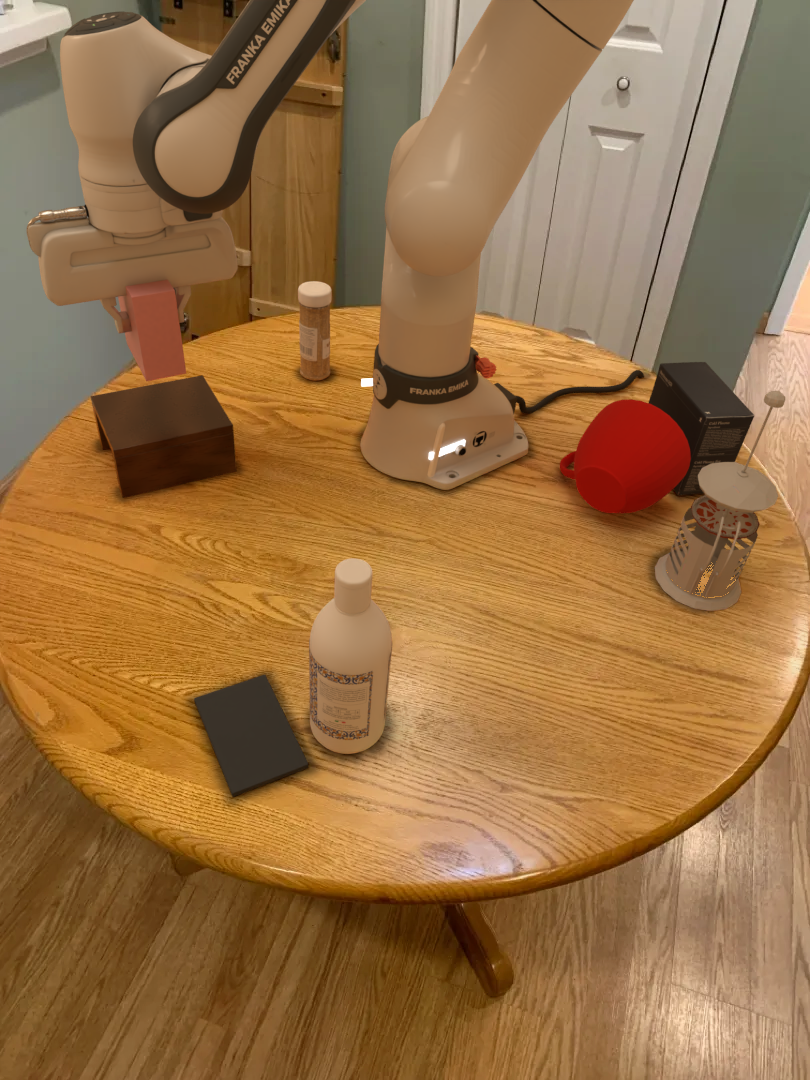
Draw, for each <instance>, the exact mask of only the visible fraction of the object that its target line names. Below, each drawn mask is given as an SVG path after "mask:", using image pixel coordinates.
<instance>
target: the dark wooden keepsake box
mask: <svg viewBox="0 0 810 1080" xmlns="http://www.w3.org/2000/svg"><path fill="white" fill-rule="evenodd" d="M90 401H91V405H92V411H93V415H94V421H95V424H96V430H97V435H98V439H99V444H100V446H101V448H102V451H103V450H107V449H110V451H111V454H112V459H113V464H114V469H115V473H116V478H117V479H116V480H117V484H118V489H119V492H120V495H121V497H122V499H125V498H130V497H133V496H137V495H143V494H146V493H150V492H154V491H158V490H159V491H160V490H163V489H167V488H172V487H175V486H180V485H185V484H189V483H192V482H197V481H201V480H205V479H209V478H214V477H218V476H223V475H227V474H231V473H234V472H237V459H236V446H235V445H236V444H235V435H234V434H235V433H234V424H233V422H232V421H231V419H230V418H229V416H228V415H227V413H226V411H225V410H224V407H223V406H222V404H221V403H220V401H219V400H218V398H217V396H216V395H215V393H214V392H213V390H212V388H211V386H210V385H209V383H208V382H207V380H206V378H205V377H204V375H203V374H202V375H196V376H190V377H185V378H179V379H175V380H174V379H173V380H170V381H165V382H159V383H153V384H148V385H143V386H138V387H131V388H127V389H122V390H116V391H111V392H106V393H101V394H96V395H90Z"/></svg>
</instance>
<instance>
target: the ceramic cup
mask: <svg viewBox="0 0 810 1080" xmlns="http://www.w3.org/2000/svg"><path fill="white" fill-rule="evenodd" d="M690 460H691V456H690V448H689V444H688V441H687V439H686V437H685V435H684V433H683V431H682V430H681V428H680V427H679V426H678V424H677V423H676V422H675V421H674V420H673V419H672V418H671V417H670V416H669V415H668V414H666V413H665V412H664V411H662V410H661V409H659V408H657V407H656V406H654V405H652V404H649V402H646V401H643V400H638V399H632V398H628V399H627V398H626V399H619V400H615V401H613V402H611V403H609V404H607V405H605V406H604V407H603V408H602V409H601V410H600V411H599V412H598V413H597V414H596V416H595V417H594V418H593V419H592V420H591V421H590V423H589V425H588V426H587V427H586V429H585V431H584V432H583V434H582V436H581V437H580V439H579V441H578V443H577V445H576V450H574V451H571V452H569V453H567V454H566V455H564V456H563V457H562V458H561V459H560V461H559V470H560V473H561V474H562V475H563V476H564V477H565V478H568V479H571V480H574V481H575V487H576V490H577V492H578V494H579V496H580V497H581V498H582V500H583V501H585V503H586V504H587V505H589V506H590V507H591V508H593V509H595V510H597V511H599V512H601V513H604V514H619V515H620V514H622V515H623V514H632V513H636V512H640V511H643V510H646V509H648V508H650V507H652V506H653V505H656V504H657V503H658V502H659V501H661V500H662V499H664V498H665V497H666V496H667V495H668V494H670V493H671V492H672V491H674V490H673V489H674V488H675V487H676V486H677V484H678V483H679V482H680V481H681V480H682V479H683V478H684V476H685V475H686V473H687V471H688V469H689V466H690ZM572 464H573V469H570V468H569V466H570V465H572Z"/></svg>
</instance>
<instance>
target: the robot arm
mask: <svg viewBox="0 0 810 1080" xmlns="http://www.w3.org/2000/svg"><path fill="white" fill-rule="evenodd" d="M366 1H367V0H249V1H248V2H247V4H246V5H245V7H244V8H243V10H242V11H241V12H240V14H239V15H238V17H237V18H236V19H235V22H234V23H233V24H232V26H231V27H230V29H229V30H228V32H227V33H226V35H225V36H224V38H223V39H222V40H221V42H220V43H219V45H218V47H217V48H216V50H214V52H213V54H212V55H211V54H208V53H205V52H202V51H199V50H196V49H194V48H193V47H189V46H187V45H185V44H183V43H181V42H179V41H177V40H175V39H173V38H172V37H169V36H168V35H167V34H166V33H164V32H162V31H160V30H159V29H157V28H156V27H155V26H154V25H152V23H150V21H148V20H147V19H146V18H145V17H144V16H143V15H141V14H139V13H135V12H132V11H123V10H122V11H111V12H105V13H99V14H95V15H91V16H90V17H86V18H83V19H80V20H79V21H77V22H76V23H74V24H72V25H71V26H70V27H69V28H68V30H66V31H65V32H64V33H63V34H64V35H63V36H62V37H61V40H60V46H59V47H60V48H59V60H60V63H59V64H60V74H61V83H62V90H63V96H64V102H65V103H64V104H65V108H66V115H67V120H68V124H69V127H70V128H69V129H70V130H71V132H72V134H73V136H74V139H75V141H76V144H77V148H78V161H77V162H78V163H77V168H78V169H77V170H78V175H79V181H80V186H81V191H82V196H83V201H84V205H78V206H69V207H65V208H61V209H54V210H53V209H45V210H41V211H39V212H38V215H36V216H34V217H32V218H31V219H30V220H29V221H28V223H27V225H26V230H25V231H26V236H27V240H28V241H27V242H28V244H29V247H30V250H31V251H32V252H33V254H34V255H36V256H37V258H38V268H39V274H40V279H41V286H42V288H43V292H44V294H45V297H46V298H47V299H48V300H49V301H50V302H51V303H53V304H54V305H55V306H57V307H64V306H69V305H76V304H82V303H88V302H94V301H100V304H101V305H102V308H103V309H104V310H105V311H106V312H107V313H108V314H109V315H110V316H111V317H112V319H113V321H114V326H115V328H116V331H117V333H118V334H125V332H130V331H132V329H131V323H130V318H129V316H128V315H127V312H126V311H122V312H121V311H120V310H118V309H117V308H116V306H117V298H118V297H120V296H126V295H127V294H126V287H125V286H131V285H137V284H143V283H150V282H156V281H162V280H168V281H169V282H170V284H171V285H172V287H173V288H174V290H175V295H176V302H177V309H178V317H179V324H181V323H185V321H186V320H185V312H184V309H186V306H187V304H188V301H189V299H190V298H191V295H192V288H191V286H195V285H200V284H207V283H212V282H219V281H226V280H231V279H233V277H234V276H235V274H236V273H237V271H238V269H239V266H238V264H239V263H238V256H237V249H236V245H235V239H234V236H233V232H232V230H231V227H230V225H229V224H228V223H227V221H226V219H224V217H223V212H224V210H226V209H228V208H230V207H231V206H233V205H235V204H236V203H237V201H238V200H239V199H240V198H241V197H242V195H243V194H244V192H245V191H246V189H247V187H248V185H249V182H250V179H251V175H252V171H253V165H254V160H255V155H256V152H257V148H258V146H259V142H260V139H261V136H262V133H263V131H264V129H265V127H266V125H267V124H268V122H269V121H270V119H271V117H272V116H273V114H275V112H276V110H277V109H278V107H280V105H281V103H282V102H283V101H284V99H285V98H286V96H287V95H288V93H289V92H290V91H291V90H292V89H293V87H294V85H295V84H297V81H298V80H299V78H301V76H302V74H303V73H304V72H305V71H306V69H307V67H308V66H309V65H310V63H311V62H312V60H313V59H314V58H315V57H316V55H317V54H318V53H319V51H320V50H321V48H322V47H323V46H324V45H325V43H326V42H327V40H329V38H330V36H332V34H333V33H334V32H335V31H336V30H337V29H338V28H339V27H340V26H341V25H342V24H343V23H344V22H345V21H346V20H347V19H348V18H349V17H350V16H351V15H352V14H353V13H355V11H356V10H358V9H359V8H360V7H361V6H362V5H363V4H364V3H365V2H366ZM634 1H635V0H490V1H489V4H488V5H487V7H486V8H485V10H484V12H483V13H482V15H481V17H480V18H479V20H478V22H477V23H476V25H475V27H474V29H473V30H472V32H471V33H470V35H469V37H468V39H467V40H466V42H465V44H464V45H463V47H462V48H461V50H460V51H459V54H458V55H457V57H456V60H455V61H454V64H453V66H452V69H451V71H450V73H449V75H448V77H447V79H446V81H445V83H444V85H443V87H442V88H441V91H440V93H439V95H438V97H437V99H436V101H435V103H434V104H433V107H432V108H431V110H430V113H429V114H428V115H427V116H424V117H422V118H421V119H419V120H417V121H416V122H415V123H414V124H412V125H411V126H410V127H409V128H408V129H406V131H405V132H404V133H403V134H402V135H401V137H400V138H399V140H398V141H397V143H396V145H395V147H394V149H393V152H392V155H391V160H390V166H389V172H388V179H387V188H386V195H385V201H384V221H385V227H386V228H385V243H384V254H383V266H382V267H383V269H382V278H381V279H382V280H381V294H380V295H381V296H380V313H379V329H378V330H379V331H378V343H377V344H376V347H375V349H374V356H373V357H374V358H373V369H372V370H373V371H372V378H361V381H360V386H361V387H372V393H373V397H372V402H371V407H370V411H369V412H370V413H369V417H368V420H367V424H366V427H365V429H364V432H363V434H362V436H361V439H360V446H359V447H360V452H361V454H362V456H363V457H364V459H365V460H366V462H367V463H368V464H369V465H371V466H372V467H373V468H374V469H376V470H377V471H378V472H381V473H383V474H385V475H387V476H389V477H393V478H396V479H399V480H405V481H411V482H417V483H422V484H426V485H428V486H431V487H433V488H436V489H438V490H443V491H450V490H452V489H454V488H457V487H459V486H461V485H463V484H465V483H468V482H470V481H472V480H474V479H476V478H479V477H481V476H483V475H486V474H488V473H490V472H492V471H494V470H497V469H498V468H501V467H503V466H505V465H507V464H509V463H512V462H514V461H516V460H519V459H521V458H523V457H525V456H527V455H528V454H529V440H528V437H527V435H526V432H525V431H524V430H523V429H522V427H521V426H520V425H519V424H518V422H517V421H516V420H515V411H516V407H517V404H518V408H519V411H520V413H522V414H525V415H530V414H533V413H535V412H537V411H538V410H540V409H542V408H544V407H545V406H547V405H548V404H550V403H552V402H553V401H554V400H556V399H558V398H560V397H564V396H566V395H573V394H609V393H616V392H619V391H622V390H626V388H628V387H629V386H630V385H631V384H632V383H633V382H634V381H635V380H636V378H639V379H643V378H645V374H644V372H642V370H640V369H635V370H633V371H632V372H631V373H630V375H628V377H627V378H625V380H624V381H623V382H621V383H618V384H615V385H610V386H609V385H607V386H606V385H605V386H569V387H566V388H561V389H558V390H556V391H554V392H552V393H550V394H549V395H547V396H545V397H544V398H543V399H541V400H540V401H539V402H538V403H536V404H535V405H533V406H527V404H526V400H525V399H524V398H523V397H521V396H519V395H515V394H514V393H512V392H511V391H510V390H509V389H507V388H506V387H505V386H504V385H502V384H500V383H499V382H496V383H493V382H492V381H491V380H489V379H490V378H492V377H494V375H495V374H496V371H497V365H496V364H494V363H493V362H492V361H490V359H489V358H488V357H487V356H485V357H480V356H479V354H480V353H479V352H478V351H477V350H476V349H475V348H473V347H472V339H473V331H474V326H475V325H474V324H475V318H476V312H477V311H476V310H477V304H478V303H477V302H478V293H479V280H480V268H481V258H482V257H481V256H482V252H483V250H484V248H485V246H486V244H487V241H488V239H489V237H490V235H491V233H492V231H493V229H494V227H495V225H496V223H497V221H498V220H499V218H500V217H501V215H502V213H503V212H504V210H505V208H506V207H507V205H508V203H509V202H510V200H511V198H512V196H513V195H514V193H515V191H516V189H517V187H518V186H519V184H520V182H521V180H522V178H523V177H524V175H525V173H526V171H527V169H528V167H529V165H530V164H531V161H532V160H533V158H534V156H535V154H536V152H537V150H538V149H539V146H540V144H541V143H542V141H543V139H544V137H545V135H546V134H547V132H548V131H549V129H550V127H551V125H552V124H553V123H554V121H555V119H556V118H557V116H558V114H560V112H561V111H562V110H563V108H564V106H565V105H566V103H567V101H569V99H570V98H571V97H572V95H573V93H574V92H575V90H576V89H577V88H578V86H579V84H580V83H581V82H582V81H583V79H584V77H585V76H586V75H587V73H588V72H589V70H590V69H591V67H592V66H593V64H594V63H595V62H596V60H597V59H598V57H600V54H601V53H602V52H603V50H604V49H605V47H606V46H607V44H608V43H609V41H610V40H611V38H612V37H613V36H614V34H615V33H616V31H617V29H618V27H619V26H620V24H621V23H622V21H623V19H624V18H625V17H626V15H627V13H628V12H629V10H630V8H631V6H632V4H633V3H634ZM38 221H39V222H38ZM634 379H635V380H634Z"/></svg>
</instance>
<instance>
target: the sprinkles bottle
mask: <svg viewBox="0 0 810 1080" xmlns="http://www.w3.org/2000/svg"><path fill="white" fill-rule="evenodd" d="M332 291H333V290H332V287H331V286H330V285H329V284H328V283H325V282H323V281H317V280H312V281H311V280H310V281H305V282H302V283H301V284H299V286H298V289H297V301H298V304H299V320H298V324H299V325H298V327H299V329H298V330H299V331H298V332H299V355H300V367H299V373H300V376H301V377H302V378H304V379H306V380H310V381H322V380H325V379H327V378H328V377H329V376H330V375H331V370H332V369H331V303H332V299H333V296H332V295H333V294H332Z"/></svg>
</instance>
